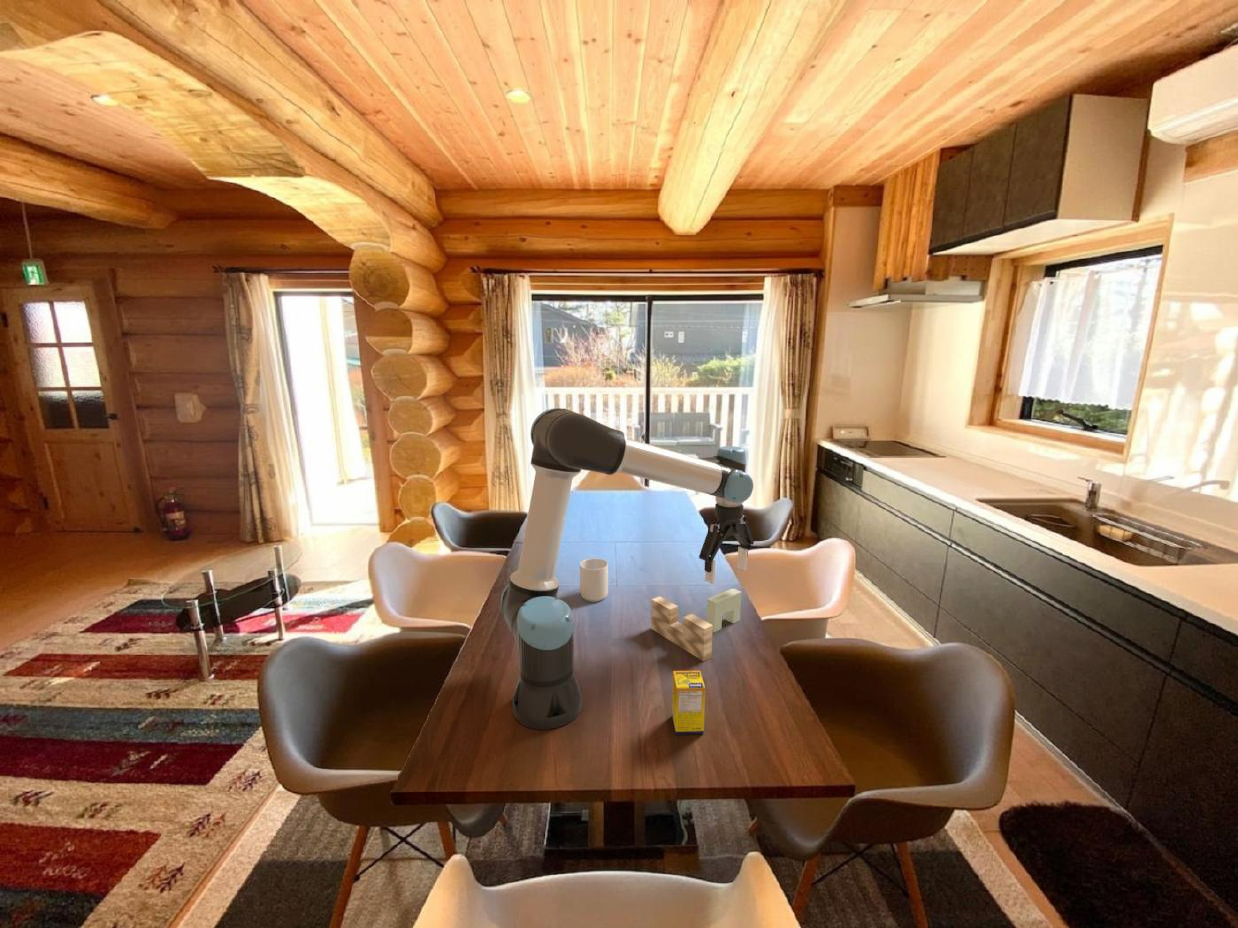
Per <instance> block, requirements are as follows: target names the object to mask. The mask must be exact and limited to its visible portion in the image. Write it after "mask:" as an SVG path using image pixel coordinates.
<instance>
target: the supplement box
mask: <svg viewBox="0 0 1238 928" xmlns="http://www.w3.org/2000/svg"><path fill="white" fill-rule="evenodd" d="M671 693H672V695H671V696H672V697H671V700H672V701H671V717H672V723H673V726H674V727H673V729H674V732H675V735H677V736H678V735H703V734H704V733H705V732H704V731H705V705H706V687H705V683H704V680H703V676H702V673H701V670H673V671H672V691H671Z"/></svg>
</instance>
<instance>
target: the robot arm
mask: <svg viewBox="0 0 1238 928" xmlns="http://www.w3.org/2000/svg"><path fill="white" fill-rule="evenodd" d="M530 440H531V443H532V446H533V448H532V452H531V453H532V454H531V460H530V465H531V466H532V468H533V469H534V472H535V474H534V480H533V486H532V490H531V497H530V503H529V507H528V512H527V518H526V523H525V524H526V525H525V529H524V536H523V541H522V546H521V547H522V548H521V552H520V558H519V562H518V569H517V570H515V571H514V572H512V573H510V574H511V575H510V577H509V581H508V584H507V585H505V588H504V589H503V590H502V592H501V597H500V611H501V613H502V614H501V615H502V617H503V619H504V621H505V622H506V625H508V626H507V627H508V629H509V630H510V632H511V634H512V637H513V638H514V640H515V643H516V645H517V649H518V662H519V663H518V665H519V678H518V681H517V685H516V687H515V691H514V694H513V698H512V712H513V715H514V717H515V718H516V720H517V722H519V723H520V724H521V725H523V726H525V727H528V728H531V729H535V730H551V729H556V728H560V727H562V726H565V725H567V724H569V723H570V722H572V721H574V720H575V719H576V718H577V717H578V715H579V714H580V712H581V711H582V707H583V693H582V689H581V687H580V684H579V681H578V678H577V676H576V674H575V667H574V664H575V661H574V630H575V629H574V627H575V623H574V617H573V612H572V609H571V606H569V604H568V603H567V602H565V601H563V600H562V599H560V598H557V597H558V592H559V587H560V582H559V579H558V578H557V577H556V575H555V572H556V567H557V562H558V557H559V554H560V553H559V551H560V546H561V541H562V536H563V531H564V525H565V520H566V513H567V509H568V506H569V505H568V504H569V499H570V493H571V488H572V484H573V483H572V482H573V479H574V478H575V477H576V476H578V475H579V474H581V471H588V472H594V473H600V474H604V475H609V476H612V475H615V474H616V473H621V474H625V475H629V476H633V477H637V478H641V479H644V480H649V481H654V482H656V483H661V484H664V485H665V484H666V485H669V486H673V487H678V488H681V489H686V490H690V491H694V492H698V493H702V494H705V495H710V496H713V497H715V504H714V506H715V507H714V510H715V511H714V515H715V517H716V519H717V521H716V523H714V524H713V523H708V526H707V533H706V536H705V538H704V540H703V545H702V546H701V550H700V553H699V556H698V558H699V559H701V560H702V561H704V573H705V575H704V576H705V577H704V578H705V579H704V581H705V582H707V583H709V584H712V585H714V584H715V578H716V577H715V576H716V560H715V557H716V555H717V554H718V551H719V550H720V548H721V546H722V545H723V542H724V541H726V540H727V538H730V537H731V536H732V537H734V538H735V539H736V540H737V543H738V545H740V546H738V548H737V567H736V568H737V569H738V570H741V571H744V572H746V571H747V569H748V568H747V567H748V566H747V565H748V557H749V550H752V548H753V545H754V544H755V541H754V538H753V535H752V531H751V529H750V525H749V517H748V516H746V515H744V505H743V503H744V502H746V501H747V500H749V498H750V497H751V495H752V493H753V490H754V481H753V478H752V476H751V475H749V474H748V473H747V472H746V467H747V458H746V450H745V449H744V448H742V447H739V446H732V445H726V446H721V447H719V448H718V449H717V452H716V455H714V456H706V457H695V456H692V455H687V454H684V453H680V452H677V451H675V450H674V451H673V450H671V449H667V448H663V447H660V446H656V445H653V444H649V443H646V442H643V441H640V440H636V439H632V438H629V437H627V436H626V433H625V432H624V431H621V430H618V429H614V428H612V427H611V426H610V427H609V426H608V425H605V424H603V423H600V422H598V421H596V420H595V419H592V418H590V417H589V416H587V415H585V414H581V413H578V412H575V411H572V410H570V409H567V408H560V407H559V408H558V407H556V408H550V409H546V410H545V411H542V412H540V414H539V415H538V416H537V417H536V418H535V419H534V421H533V423H532V424H531V428H530Z"/></svg>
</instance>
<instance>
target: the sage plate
mask: <svg viewBox="0 0 1238 928" xmlns="http://www.w3.org/2000/svg"><path fill="white" fill-rule="evenodd" d="M706 601H707V602H706V603H707V604H706V622H708V623H710V624H711V625H713V633H717V632H718V631H721V630H722V625H723V624H722V623H723V622H722V621H723V615H724V620H725V621H727V622H730V623H731V624H735V623H737V622H739V621H740V620H741V605H742V604H741V603H742V590H741V591H740V590H739V589H736V588H731V589H727V590H726V591H723V592H721V593H719V594H716V595H713V596H712V597H708V598H707V599H706Z"/></svg>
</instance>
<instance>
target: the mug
mask: <svg viewBox="0 0 1238 928" xmlns="http://www.w3.org/2000/svg"><path fill="white" fill-rule="evenodd" d="M579 585H580V586H579V587H580V588H579V589H580V590H579V591H580V592H579V593H580V596H581V598H583V600H585V601H588V602H591V603H593V602H595V603H597V602H600V601H602V600H605V598H607V596H608V594H609V562H608V561H607V560H604V559H602V558H586V559H584V560H582V561H580V564H579Z"/></svg>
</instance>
